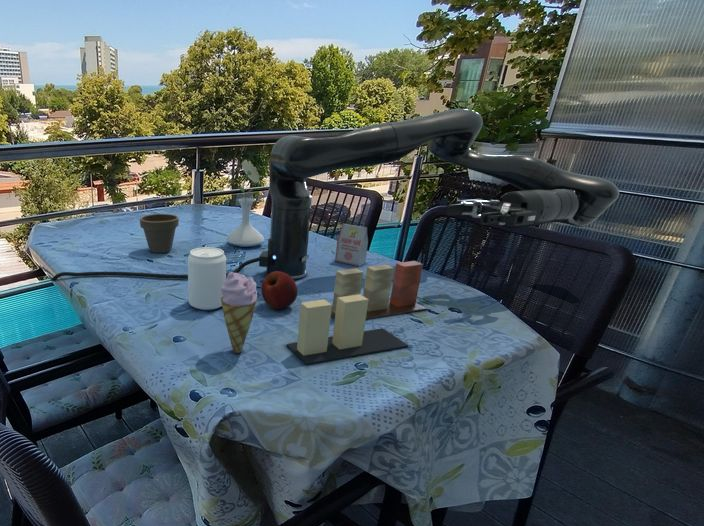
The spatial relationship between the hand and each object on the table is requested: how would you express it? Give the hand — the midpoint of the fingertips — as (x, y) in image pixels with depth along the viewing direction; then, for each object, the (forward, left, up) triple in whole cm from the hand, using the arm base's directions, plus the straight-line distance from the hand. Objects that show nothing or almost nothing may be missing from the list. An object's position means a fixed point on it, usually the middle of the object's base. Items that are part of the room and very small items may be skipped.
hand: (463, 214), depth 94 cm
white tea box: (-20, +21, -19) cm, 34 cm away
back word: (-15, -10, -19) cm, 26 cm away
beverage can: (-49, -17, -19) cm, 55 cm away
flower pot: (-74, +18, -19) cm, 78 cm away
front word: (-20, -28, -19) cm, 39 cm away
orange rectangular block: (-9, -6, -18) cm, 21 cm away
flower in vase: (-51, +31, -19) cm, 62 cm away
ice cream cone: (-38, -35, -19) cm, 55 cm away
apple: (-34, -14, -19) cm, 41 cm away
